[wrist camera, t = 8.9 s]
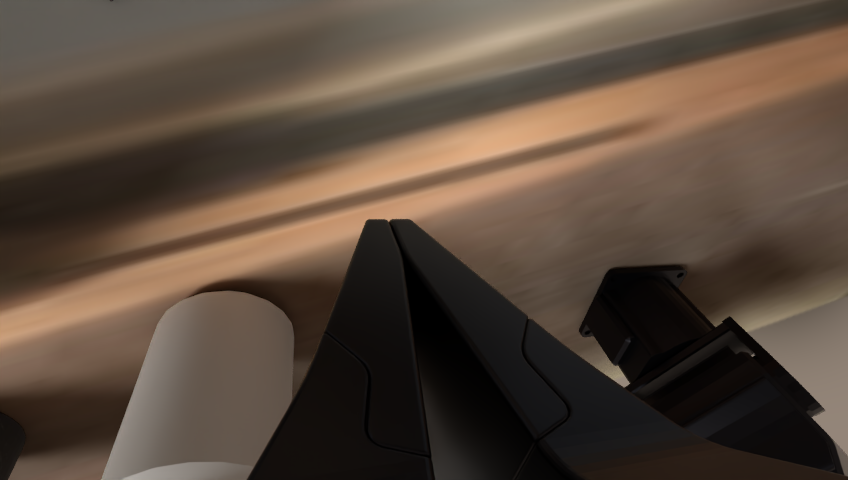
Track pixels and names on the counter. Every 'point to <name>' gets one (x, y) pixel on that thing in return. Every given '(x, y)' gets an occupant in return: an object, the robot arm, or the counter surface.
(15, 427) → the travel mug
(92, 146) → the counter surface
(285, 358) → the can
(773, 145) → the counter surface
